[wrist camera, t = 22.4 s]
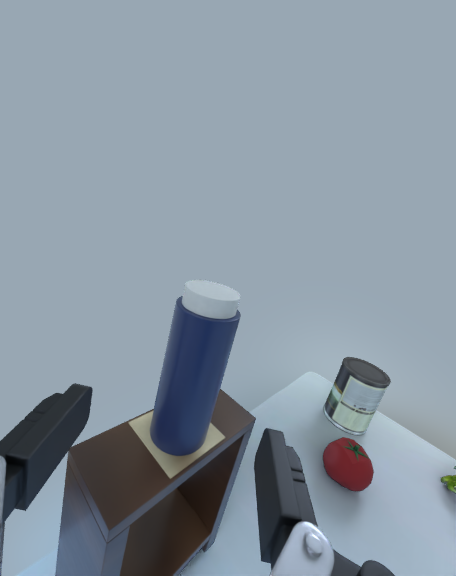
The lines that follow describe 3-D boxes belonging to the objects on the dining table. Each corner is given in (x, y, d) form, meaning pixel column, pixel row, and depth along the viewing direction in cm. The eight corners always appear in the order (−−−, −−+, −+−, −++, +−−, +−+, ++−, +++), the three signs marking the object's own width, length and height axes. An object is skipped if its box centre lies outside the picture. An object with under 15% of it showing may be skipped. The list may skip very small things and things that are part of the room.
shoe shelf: (79, 697, 21) (109, 529, 16) (51, 605, 25) (68, 447, 20) (213, 542, 33) (256, 417, 28) (180, 496, 38) (212, 380, 32)
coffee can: (314, 405, 66) (334, 357, 62) (341, 400, 71) (361, 355, 67) (347, 439, 57) (372, 386, 53) (375, 431, 62) (400, 382, 58)
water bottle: (213, 451, 23) (257, 305, 19) (153, 461, 21) (189, 298, 17) (197, 407, 27) (230, 282, 24) (146, 411, 25) (174, 274, 21)
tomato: (341, 454, 53) (354, 426, 51) (374, 495, 46) (391, 464, 44) (310, 459, 50) (323, 429, 48) (340, 504, 42) (356, 471, 41)
